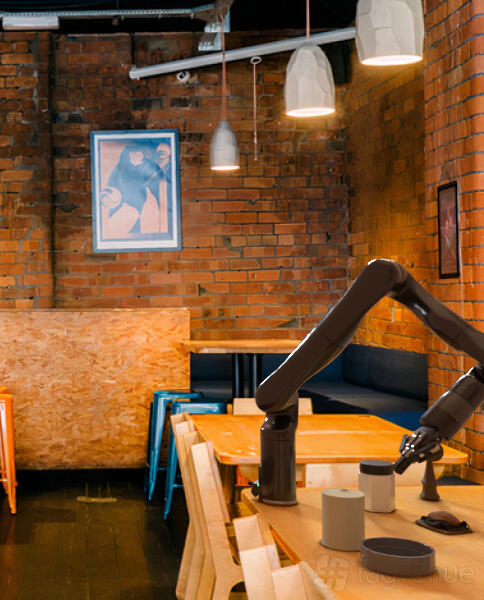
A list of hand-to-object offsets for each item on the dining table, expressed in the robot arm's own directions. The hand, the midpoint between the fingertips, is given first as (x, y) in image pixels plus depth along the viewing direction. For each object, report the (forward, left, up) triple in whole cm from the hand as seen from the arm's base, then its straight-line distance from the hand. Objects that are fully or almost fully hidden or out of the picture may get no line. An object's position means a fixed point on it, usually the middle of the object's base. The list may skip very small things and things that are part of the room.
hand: (395, 471), depth 178 cm
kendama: (+3, +47, -16) cm, 50 cm away
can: (-10, -8, -16) cm, 20 cm away
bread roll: (+8, +18, -16) cm, 25 cm away
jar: (-8, +29, -16) cm, 34 cm away
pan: (+2, -18, -16) cm, 24 cm away
